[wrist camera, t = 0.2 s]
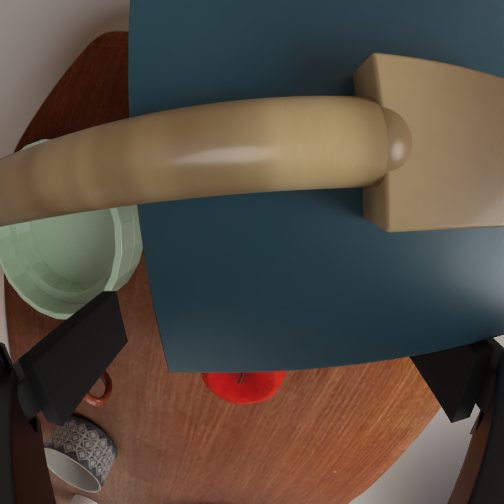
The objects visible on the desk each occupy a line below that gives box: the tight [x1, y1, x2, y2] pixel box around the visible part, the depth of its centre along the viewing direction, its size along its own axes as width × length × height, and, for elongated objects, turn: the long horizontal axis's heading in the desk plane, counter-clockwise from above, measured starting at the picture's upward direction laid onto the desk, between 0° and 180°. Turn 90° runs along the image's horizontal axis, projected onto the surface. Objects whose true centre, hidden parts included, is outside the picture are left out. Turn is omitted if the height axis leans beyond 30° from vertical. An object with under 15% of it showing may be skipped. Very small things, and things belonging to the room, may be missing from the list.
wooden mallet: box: [0, 53, 504, 232], centre depth 5 cm, size 17×3×2 cm, turn 95°
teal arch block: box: [128, 0, 504, 373], centre depth 19 cm, size 10×11×28 cm
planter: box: [44, 416, 117, 492], centre depth 42 cm, size 13×13×10 cm
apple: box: [202, 371, 286, 404], centre depth 33 cm, size 9×9×11 cm
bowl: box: [0, 139, 143, 319], centre depth 32 cm, size 21×21×7 cm
